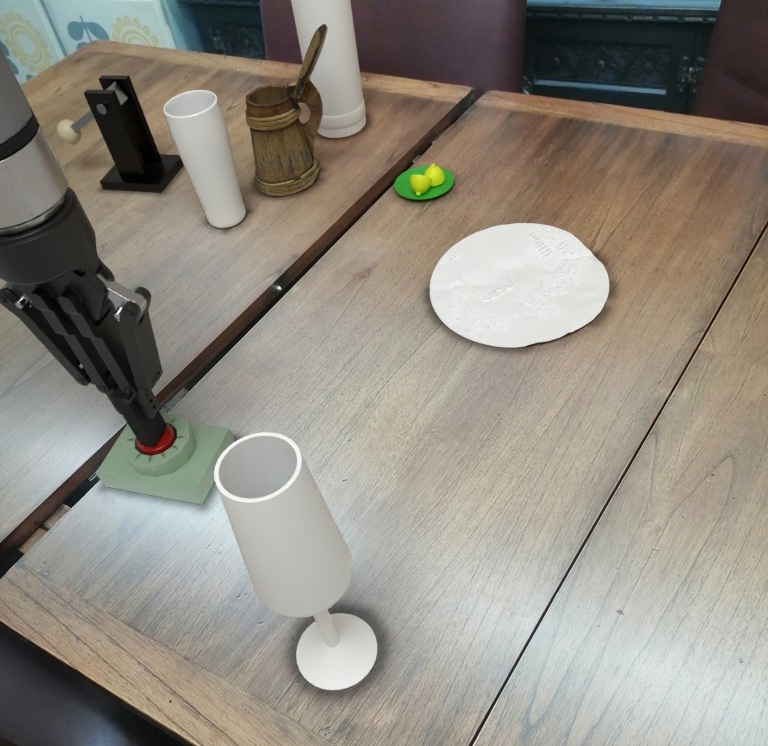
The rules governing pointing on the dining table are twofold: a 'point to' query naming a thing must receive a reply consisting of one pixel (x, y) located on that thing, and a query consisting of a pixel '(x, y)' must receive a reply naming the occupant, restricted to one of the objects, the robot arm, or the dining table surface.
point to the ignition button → (160, 443)
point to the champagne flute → (295, 554)
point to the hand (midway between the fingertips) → (154, 435)
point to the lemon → (424, 182)
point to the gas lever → (83, 120)
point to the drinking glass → (206, 154)
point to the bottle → (333, 64)
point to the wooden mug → (286, 128)
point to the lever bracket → (129, 140)
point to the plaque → (518, 285)
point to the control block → (168, 462)
